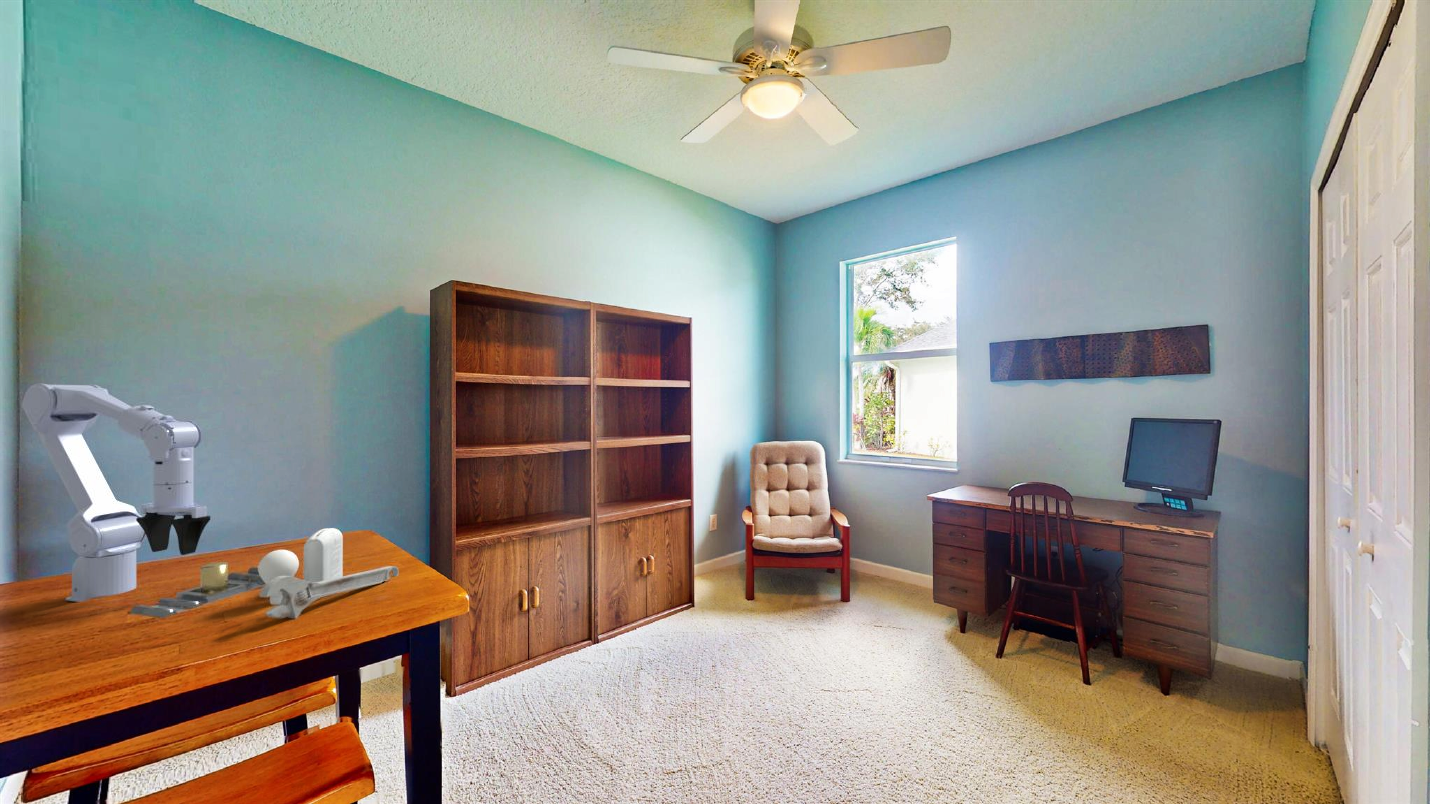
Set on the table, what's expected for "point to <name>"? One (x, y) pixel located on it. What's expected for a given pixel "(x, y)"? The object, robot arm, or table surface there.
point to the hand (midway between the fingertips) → (173, 552)
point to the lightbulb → (277, 569)
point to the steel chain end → (167, 607)
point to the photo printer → (323, 556)
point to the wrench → (317, 589)
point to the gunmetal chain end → (235, 586)
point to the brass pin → (214, 577)
